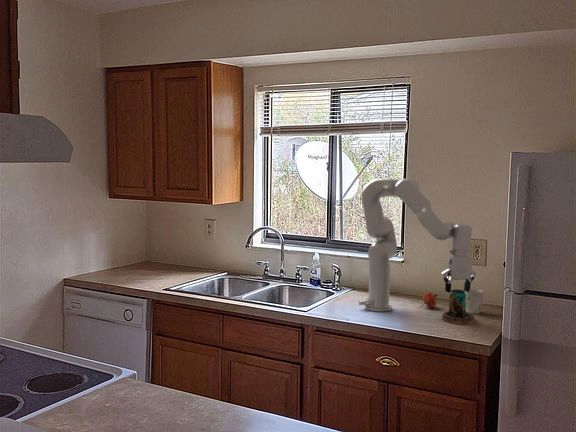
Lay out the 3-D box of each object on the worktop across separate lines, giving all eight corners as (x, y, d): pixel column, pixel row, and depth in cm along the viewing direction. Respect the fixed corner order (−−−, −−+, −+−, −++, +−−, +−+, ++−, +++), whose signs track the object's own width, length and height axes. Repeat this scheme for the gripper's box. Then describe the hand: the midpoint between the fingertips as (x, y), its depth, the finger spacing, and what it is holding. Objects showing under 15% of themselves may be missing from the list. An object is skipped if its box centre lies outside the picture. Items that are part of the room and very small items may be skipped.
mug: (479, 315, 286) (480, 293, 285) (452, 311, 293) (453, 289, 292) (484, 311, 293) (485, 290, 292) (457, 307, 300) (458, 286, 299)
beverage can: (445, 317, 277) (446, 290, 276) (454, 315, 282) (455, 288, 281) (459, 320, 272) (461, 293, 271) (468, 318, 277) (469, 291, 276)
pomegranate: (422, 313, 296) (440, 302, 293) (413, 300, 298) (431, 289, 294) (425, 311, 303) (443, 301, 299) (417, 298, 304) (434, 287, 301)
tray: (453, 325, 268) (454, 319, 268) (435, 317, 281) (435, 311, 281) (481, 323, 273) (481, 317, 272) (462, 314, 286) (462, 309, 286)
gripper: (448, 254, 267) (445, 294, 270) (482, 254, 273) (479, 293, 276) (438, 251, 274) (435, 290, 277) (472, 251, 280) (468, 289, 282)
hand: (457, 291), depth 276 cm, fingers open, 9 cm apart
